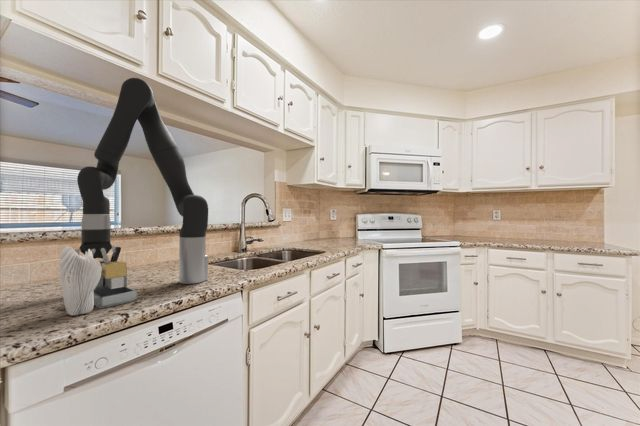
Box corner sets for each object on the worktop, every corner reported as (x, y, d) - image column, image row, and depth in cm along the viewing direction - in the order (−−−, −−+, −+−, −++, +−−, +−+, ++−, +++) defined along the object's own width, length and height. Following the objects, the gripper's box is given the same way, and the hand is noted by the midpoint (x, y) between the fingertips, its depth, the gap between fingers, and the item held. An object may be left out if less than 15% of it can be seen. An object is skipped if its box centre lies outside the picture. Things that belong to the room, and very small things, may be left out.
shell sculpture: (94, 305, 79) (94, 242, 79) (102, 312, 73) (102, 244, 73) (54, 313, 72) (54, 244, 72) (59, 321, 67) (60, 247, 67)
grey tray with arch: (120, 292, 91) (120, 264, 91) (137, 300, 83) (137, 269, 83) (85, 299, 84) (85, 268, 84) (100, 308, 76) (100, 274, 76)
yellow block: (121, 273, 86) (121, 260, 86) (126, 275, 83) (126, 262, 83) (101, 276, 82) (101, 263, 82) (106, 278, 79) (106, 264, 79)
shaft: (100, 284, 94) (100, 260, 94) (123, 295, 82) (123, 268, 82) (88, 286, 92) (89, 261, 92) (111, 297, 79) (111, 269, 79)
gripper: (117, 226, 100) (117, 274, 100) (64, 228, 89) (64, 281, 89) (125, 227, 96) (125, 276, 96) (71, 229, 84) (70, 285, 84)
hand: (95, 278), depth 92 cm, fingers open, 4 cm apart
